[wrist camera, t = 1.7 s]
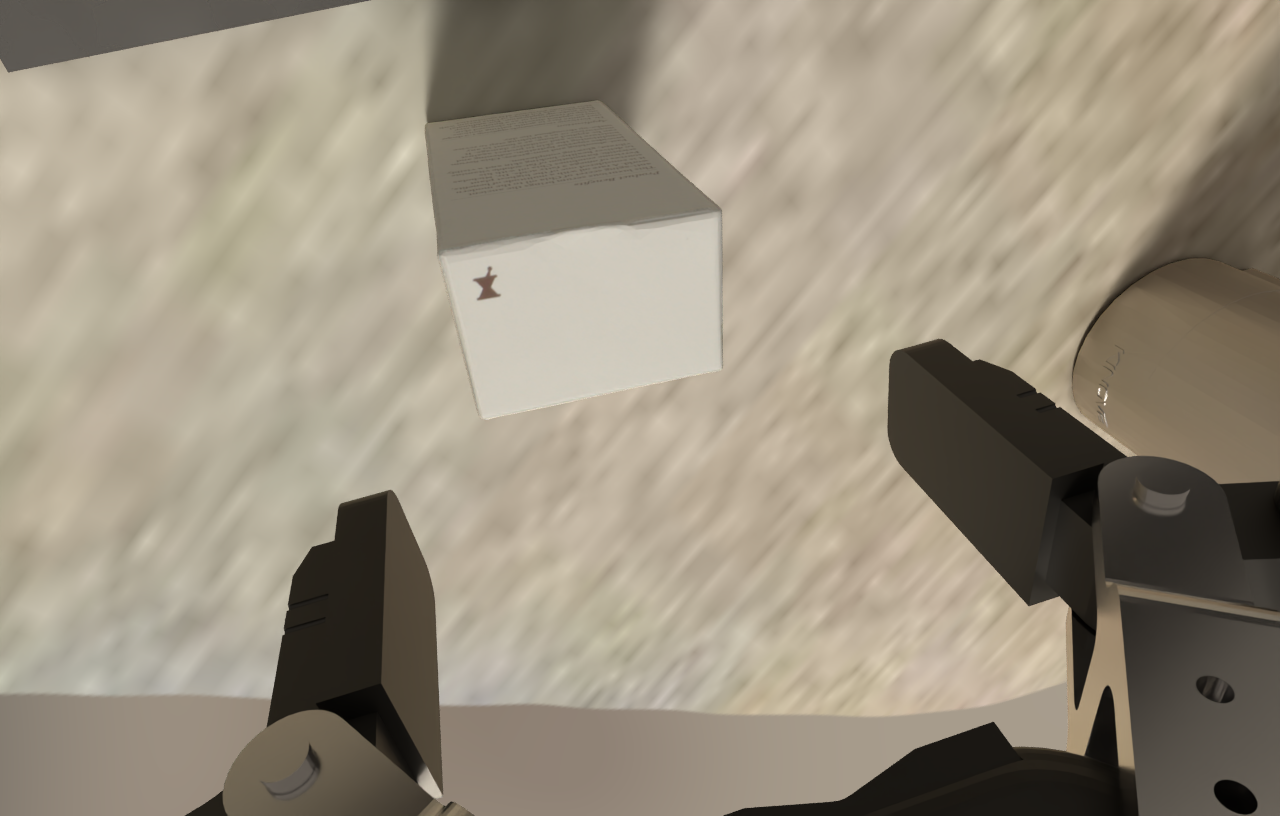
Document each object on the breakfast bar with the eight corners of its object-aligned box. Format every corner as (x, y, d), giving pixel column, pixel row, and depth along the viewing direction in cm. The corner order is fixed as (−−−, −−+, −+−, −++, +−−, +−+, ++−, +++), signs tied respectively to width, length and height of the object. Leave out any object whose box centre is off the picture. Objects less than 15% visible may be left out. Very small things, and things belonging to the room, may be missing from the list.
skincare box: (450, 246, 27) (471, 427, 17) (422, 120, 25) (429, 247, 15) (618, 219, 28) (729, 376, 18) (606, 95, 26) (725, 199, 16)
